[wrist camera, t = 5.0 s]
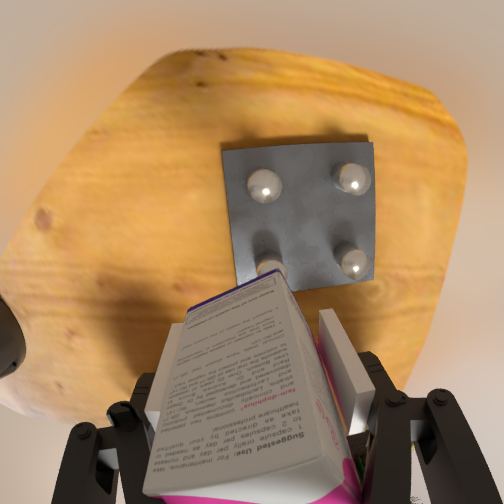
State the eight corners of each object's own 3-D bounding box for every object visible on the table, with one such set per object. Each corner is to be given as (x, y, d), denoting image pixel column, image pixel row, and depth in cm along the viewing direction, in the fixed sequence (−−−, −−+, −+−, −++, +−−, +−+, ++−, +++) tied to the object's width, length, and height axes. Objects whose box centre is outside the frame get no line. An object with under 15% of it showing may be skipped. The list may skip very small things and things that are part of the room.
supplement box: (183, 309, 17) (133, 493, 6) (278, 264, 16) (339, 448, 6) (231, 378, 19) (232, 544, 8) (317, 342, 18) (377, 508, 7)
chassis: (239, 294, 36) (240, 313, 31) (222, 151, 30) (220, 151, 26) (370, 276, 36) (385, 292, 32) (369, 142, 31) (387, 142, 27)
